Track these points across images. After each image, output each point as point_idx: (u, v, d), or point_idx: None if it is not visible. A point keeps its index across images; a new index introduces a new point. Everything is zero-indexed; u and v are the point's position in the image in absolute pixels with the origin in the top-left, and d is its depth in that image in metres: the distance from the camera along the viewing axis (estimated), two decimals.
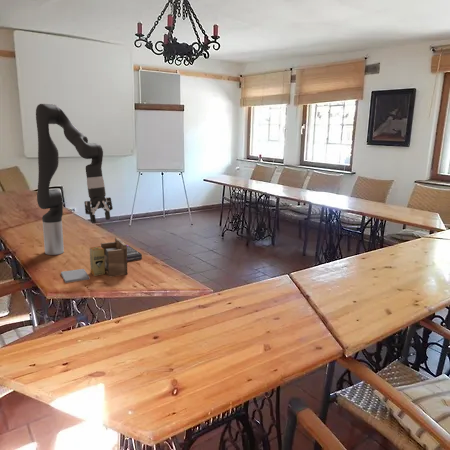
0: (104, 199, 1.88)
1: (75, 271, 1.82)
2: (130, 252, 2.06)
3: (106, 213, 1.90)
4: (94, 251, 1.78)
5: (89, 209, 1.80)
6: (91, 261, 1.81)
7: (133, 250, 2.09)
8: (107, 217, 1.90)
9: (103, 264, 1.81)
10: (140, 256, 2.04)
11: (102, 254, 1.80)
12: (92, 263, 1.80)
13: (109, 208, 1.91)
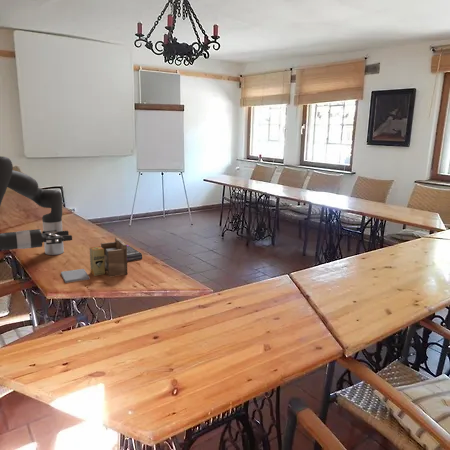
0: None
1: (75, 271, 1.82)
2: (130, 252, 2.06)
3: None
4: (94, 251, 1.78)
5: None
6: (91, 261, 1.81)
7: (133, 250, 2.09)
8: None
9: (103, 264, 1.81)
10: (140, 256, 2.04)
11: (102, 254, 1.80)
12: (92, 263, 1.80)
13: None
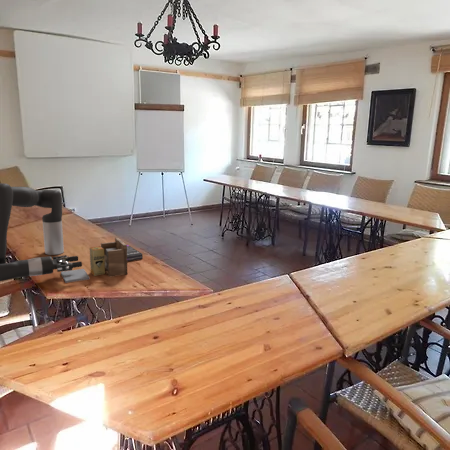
0: None
1: (75, 271, 1.82)
2: (131, 252, 2.06)
3: None
4: (94, 251, 1.78)
5: None
6: (91, 261, 1.81)
7: (134, 250, 2.10)
8: None
9: (103, 264, 1.81)
10: (141, 256, 2.05)
11: (102, 254, 1.80)
12: (92, 263, 1.80)
13: None
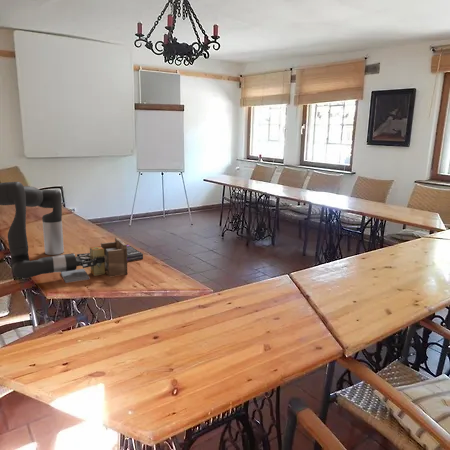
0: None
1: (75, 271, 1.82)
2: (131, 252, 2.06)
3: None
4: (94, 251, 1.78)
5: None
6: None
7: (134, 250, 2.10)
8: None
9: (103, 264, 1.81)
10: (141, 256, 2.05)
11: (102, 254, 1.80)
12: None
13: None
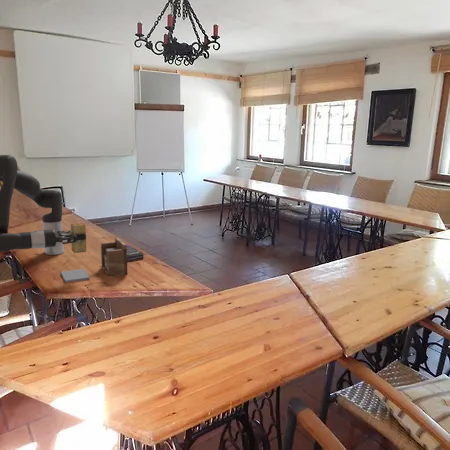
0: None
1: (75, 271, 1.82)
2: (132, 252, 2.07)
3: None
4: (75, 227, 1.71)
5: None
6: (72, 238, 1.74)
7: (135, 250, 2.10)
8: None
9: (84, 241, 1.75)
10: (142, 256, 2.05)
11: (83, 231, 1.73)
12: None
13: None
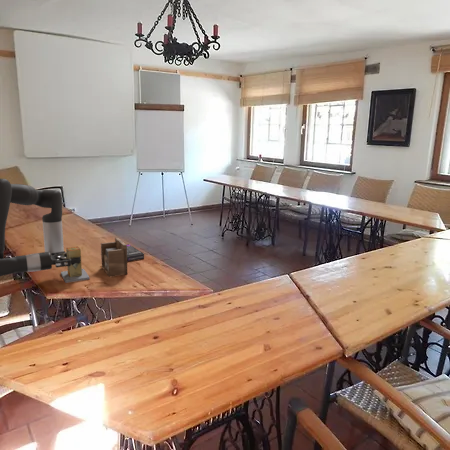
0: None
1: None
2: (132, 252, 2.07)
3: None
4: (70, 252, 1.72)
5: None
6: None
7: (135, 250, 2.10)
8: None
9: (80, 265, 1.76)
10: (142, 256, 2.05)
11: (78, 255, 1.75)
12: None
13: None
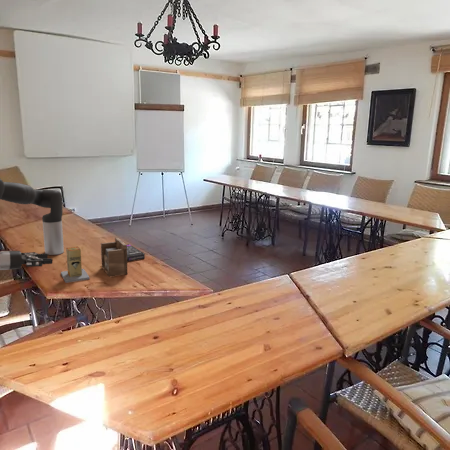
0: None
1: None
2: (133, 251, 2.07)
3: None
4: (70, 252, 1.72)
5: None
6: (68, 262, 1.76)
7: (136, 249, 2.10)
8: None
9: (80, 265, 1.76)
10: (143, 255, 2.05)
11: (78, 255, 1.75)
12: (68, 264, 1.75)
13: None
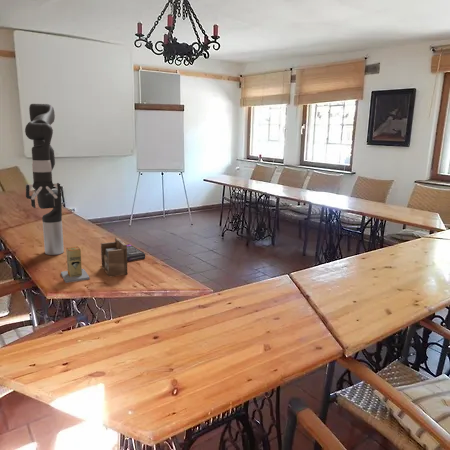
0: (50, 185, 1.75)
1: None
2: (133, 251, 2.07)
3: (54, 199, 1.78)
4: (70, 252, 1.72)
5: (27, 193, 1.71)
6: (68, 262, 1.76)
7: (136, 249, 2.10)
8: (54, 204, 1.78)
9: (80, 265, 1.76)
10: (143, 255, 2.05)
11: (78, 255, 1.75)
12: (68, 264, 1.75)
13: (57, 195, 1.78)
